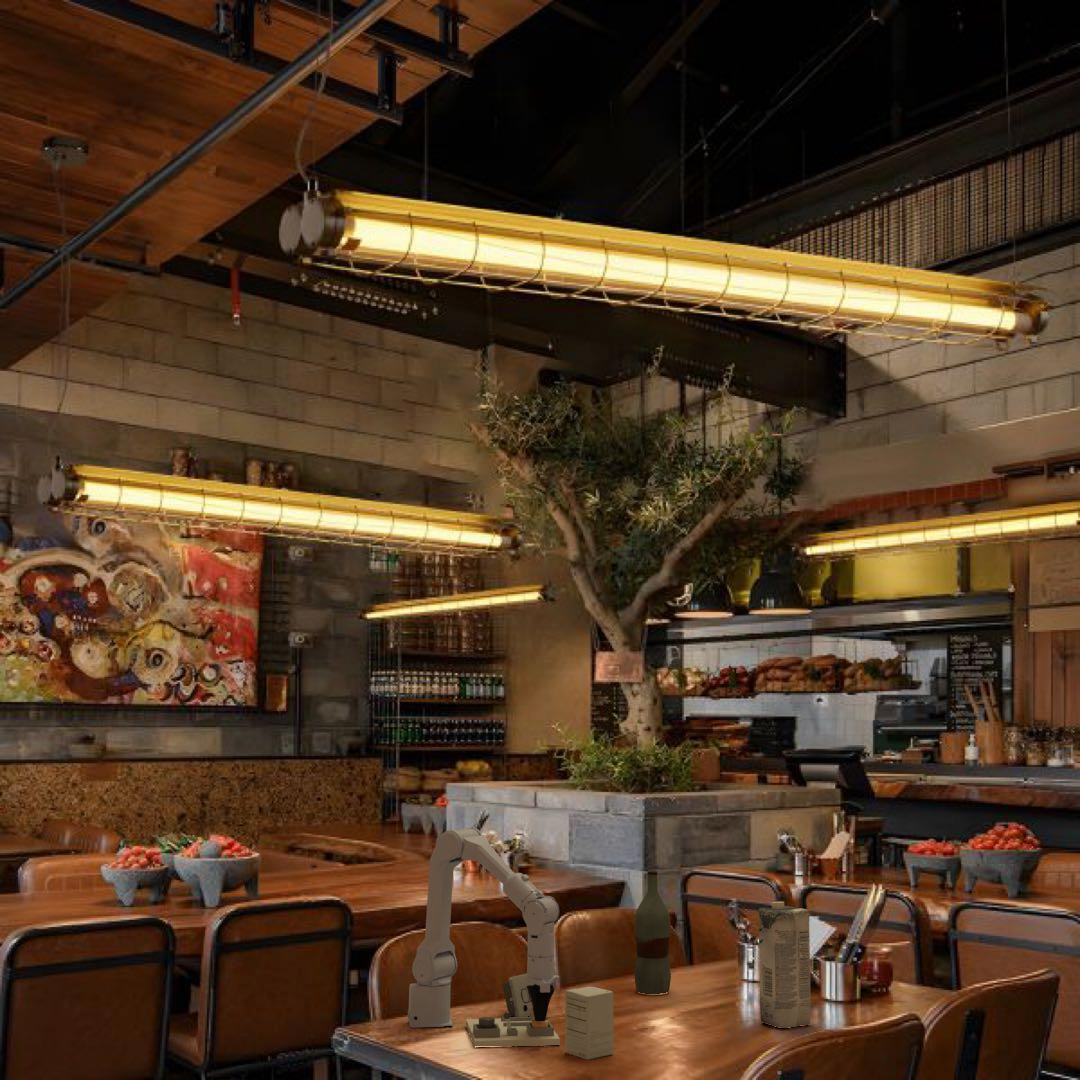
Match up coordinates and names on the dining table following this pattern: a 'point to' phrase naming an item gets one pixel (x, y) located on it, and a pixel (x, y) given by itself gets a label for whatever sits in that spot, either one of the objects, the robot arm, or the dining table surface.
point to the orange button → (539, 1024)
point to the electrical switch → (518, 996)
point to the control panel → (512, 1033)
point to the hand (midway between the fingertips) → (539, 1020)
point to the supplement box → (589, 1022)
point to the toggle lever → (508, 1020)
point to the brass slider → (532, 1015)
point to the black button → (486, 1022)
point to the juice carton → (784, 965)
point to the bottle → (652, 941)
